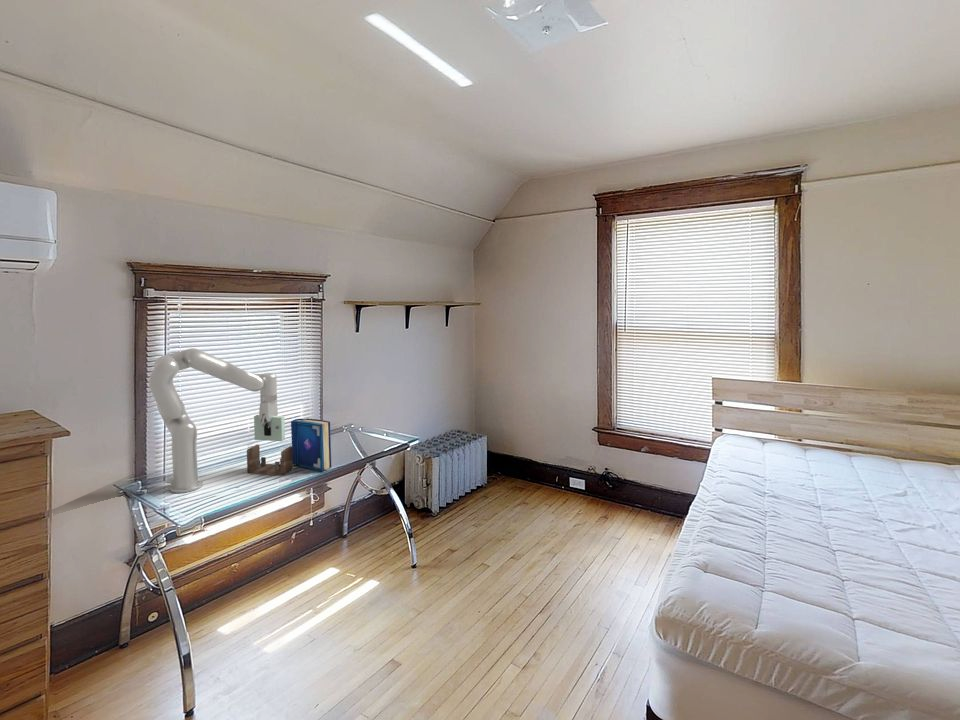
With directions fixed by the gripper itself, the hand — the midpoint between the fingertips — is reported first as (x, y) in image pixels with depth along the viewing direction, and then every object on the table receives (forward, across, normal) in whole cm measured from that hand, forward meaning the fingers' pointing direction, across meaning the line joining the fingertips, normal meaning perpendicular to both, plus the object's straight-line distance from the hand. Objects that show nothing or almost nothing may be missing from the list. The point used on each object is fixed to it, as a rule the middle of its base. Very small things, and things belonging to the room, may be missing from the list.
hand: (269, 434), depth 240 cm
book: (+19, -9, +17) cm, 27 cm away
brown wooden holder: (+19, 0, 0) cm, 19 cm away
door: (+3, 0, 0) cm, 3 cm away
